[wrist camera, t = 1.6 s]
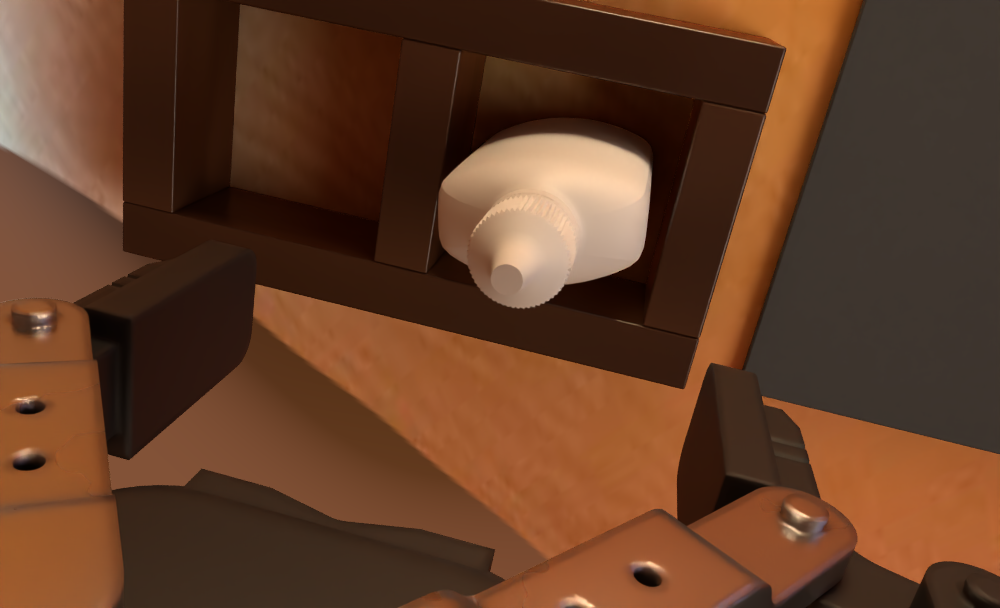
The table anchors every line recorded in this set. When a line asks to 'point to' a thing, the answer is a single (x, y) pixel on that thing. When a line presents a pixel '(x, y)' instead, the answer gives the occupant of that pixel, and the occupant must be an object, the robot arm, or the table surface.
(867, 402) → the mat
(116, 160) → the table surface
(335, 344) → the table surface
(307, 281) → the rack
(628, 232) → the eye dropper bottle
